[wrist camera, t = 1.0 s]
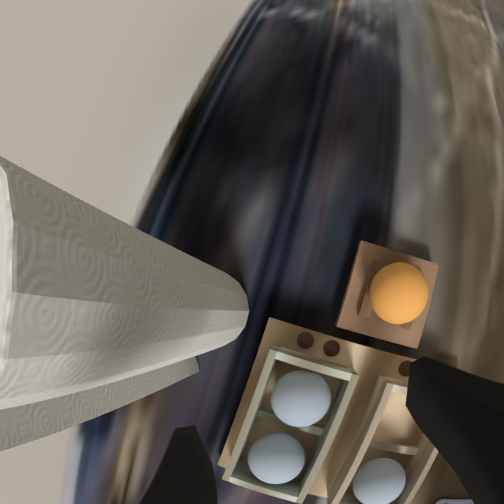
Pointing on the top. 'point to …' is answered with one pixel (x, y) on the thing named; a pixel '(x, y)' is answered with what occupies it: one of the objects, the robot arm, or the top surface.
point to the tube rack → (330, 416)
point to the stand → (358, 296)
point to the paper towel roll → (95, 310)
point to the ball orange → (398, 293)
